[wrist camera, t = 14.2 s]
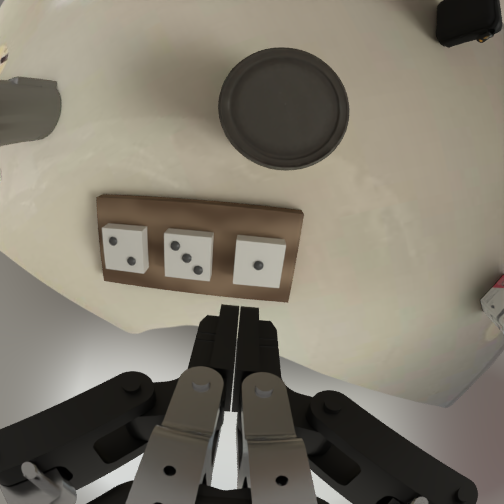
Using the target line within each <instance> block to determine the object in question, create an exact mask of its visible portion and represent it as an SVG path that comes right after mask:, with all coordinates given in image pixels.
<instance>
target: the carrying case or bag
mask: <svg viewBox="0 0 504 504" xmlns="http://www.w3.org/2000/svg"><path fill="white" fill-rule="evenodd" d="M501 28H502V17H501V8H500V1H499V0H443V1H442V2H440V3H439V4H438V7H437V29H436V36H437V38H438V41H439V43H440V44H441V45H443V46H446V47H449V48H450V47H452V46H455V45H458V44H462V43H465V42H469V41H472V40H477V41H478V42H480V43H483V42H485V41H486V40H487V39H489V38H490V37H493V35H494V34H495V33H498V32H499V31H501Z"/></svg>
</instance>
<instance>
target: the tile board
mask: <svg viewBox="0 0 504 504" xmlns="http://www.w3.org/2000/svg"><path fill="white" fill-rule="evenodd" d="M96 198H97V218H98V231H99V242H100V252H101V261H102V268H103V276H104V281H109V282H115V283H122V284H128V285H135V286H142V287H149V288H157V289H164V290H172V291H180V292H188V293H196V294H205V295H214V296H224V297H233V298H243V299H254V300H265V301H277V302H288V300H289V295H290V290H291V285H292V279H293V274H294V269H295V263H296V258H297V252H298V246H299V240H300V235H301V229H302V223H303V216H304V214H303V212H302V210H295V209H287V208H278V207H269V206H260V205H250V204H240V203H230V202H219V201H207V200H194V199H181V198H166V197H150V196H131V195H107V194H103V195H101V196H99V197H96ZM108 223H112V224H125V225H137V226H147V238H148V262H149V268H148V269H147V270H146V272H145V273H144V274H142V273H134V272H127V271H120V270H112V269H106V265H105V257H104V247H103V236H102V227H104V226H105V225H107V224H108ZM168 228H172V229H183V230H194V231H205V232H214V239H213V257H212V275H211V278H210V281H201V280H192V279H183V278H175V277H166V276H165V261H164V233H165V232H166V230H167V229H168ZM237 235H246V236H256V237H266V238H276V239H285V243H286V249H285V255H284V262H283V268H282V274H281V280H280V286H279V288H271V287H260V286H249V285H239V284H233V274H234V263H235V251H236V240H237Z"/></svg>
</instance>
